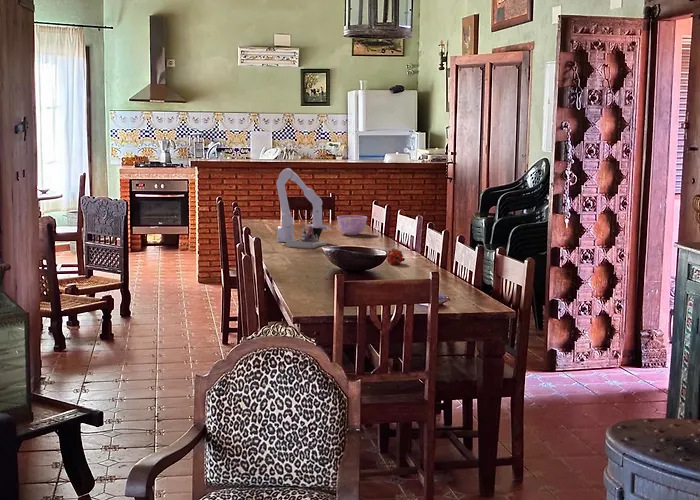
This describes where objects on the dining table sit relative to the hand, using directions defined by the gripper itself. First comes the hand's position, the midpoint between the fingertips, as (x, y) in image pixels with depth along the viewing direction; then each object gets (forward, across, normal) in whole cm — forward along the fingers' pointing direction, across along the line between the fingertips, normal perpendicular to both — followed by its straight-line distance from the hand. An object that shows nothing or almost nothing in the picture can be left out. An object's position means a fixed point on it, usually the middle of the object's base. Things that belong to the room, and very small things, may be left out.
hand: (317, 240), depth 515 cm
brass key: (+1, -11, -20) cm, 23 cm away
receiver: (+1, 0, -17) cm, 17 cm away
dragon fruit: (+1, +69, -56) cm, 89 cm away
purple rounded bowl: (+1, +5, +44) cm, 44 cm away
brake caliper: (+1, -2, -8) cm, 8 cm away
